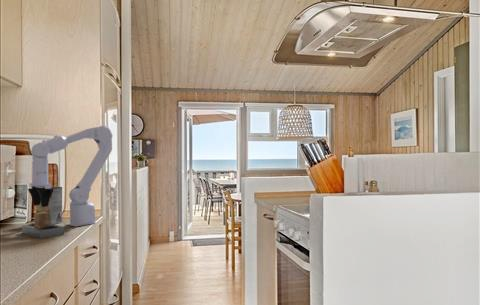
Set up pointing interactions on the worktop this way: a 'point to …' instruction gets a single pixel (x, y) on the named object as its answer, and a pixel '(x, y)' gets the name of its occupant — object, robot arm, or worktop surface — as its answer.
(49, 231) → the grey shallow tray
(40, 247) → the worktop surface
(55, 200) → the coffee box
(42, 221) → the walnut peg
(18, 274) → the worktop surface
